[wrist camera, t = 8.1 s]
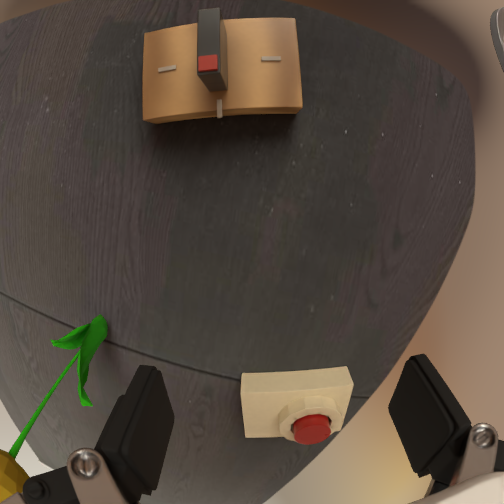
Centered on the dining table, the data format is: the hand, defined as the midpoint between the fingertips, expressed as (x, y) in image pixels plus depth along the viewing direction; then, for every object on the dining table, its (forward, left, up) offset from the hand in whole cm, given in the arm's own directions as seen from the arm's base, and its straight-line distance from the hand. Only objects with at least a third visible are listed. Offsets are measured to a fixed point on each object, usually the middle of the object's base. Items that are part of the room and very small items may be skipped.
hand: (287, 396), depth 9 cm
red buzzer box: (-3, +19, -17) cm, 25 cm away
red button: (-4, +19, -12) cm, 23 cm away
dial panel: (+3, -16, -17) cm, 23 cm away
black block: (+3, -16, -14) cm, 21 cm away
